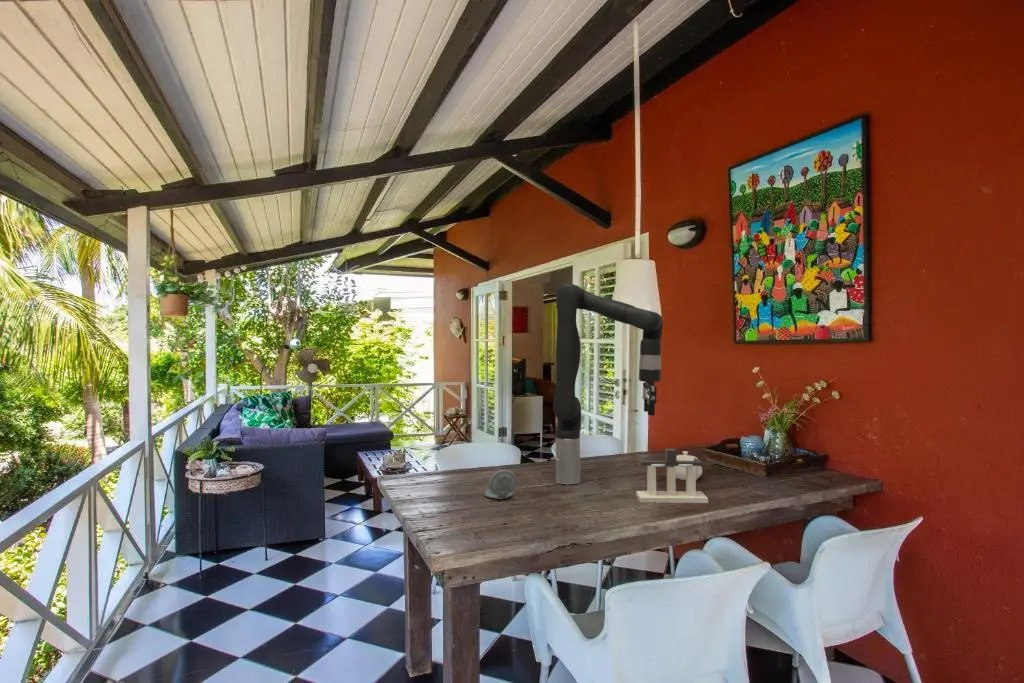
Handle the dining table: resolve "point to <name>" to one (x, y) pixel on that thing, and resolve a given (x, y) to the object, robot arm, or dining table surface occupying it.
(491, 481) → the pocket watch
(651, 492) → the display stand
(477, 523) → the dining table surface
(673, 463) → the spectacle frame
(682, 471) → the teapot
